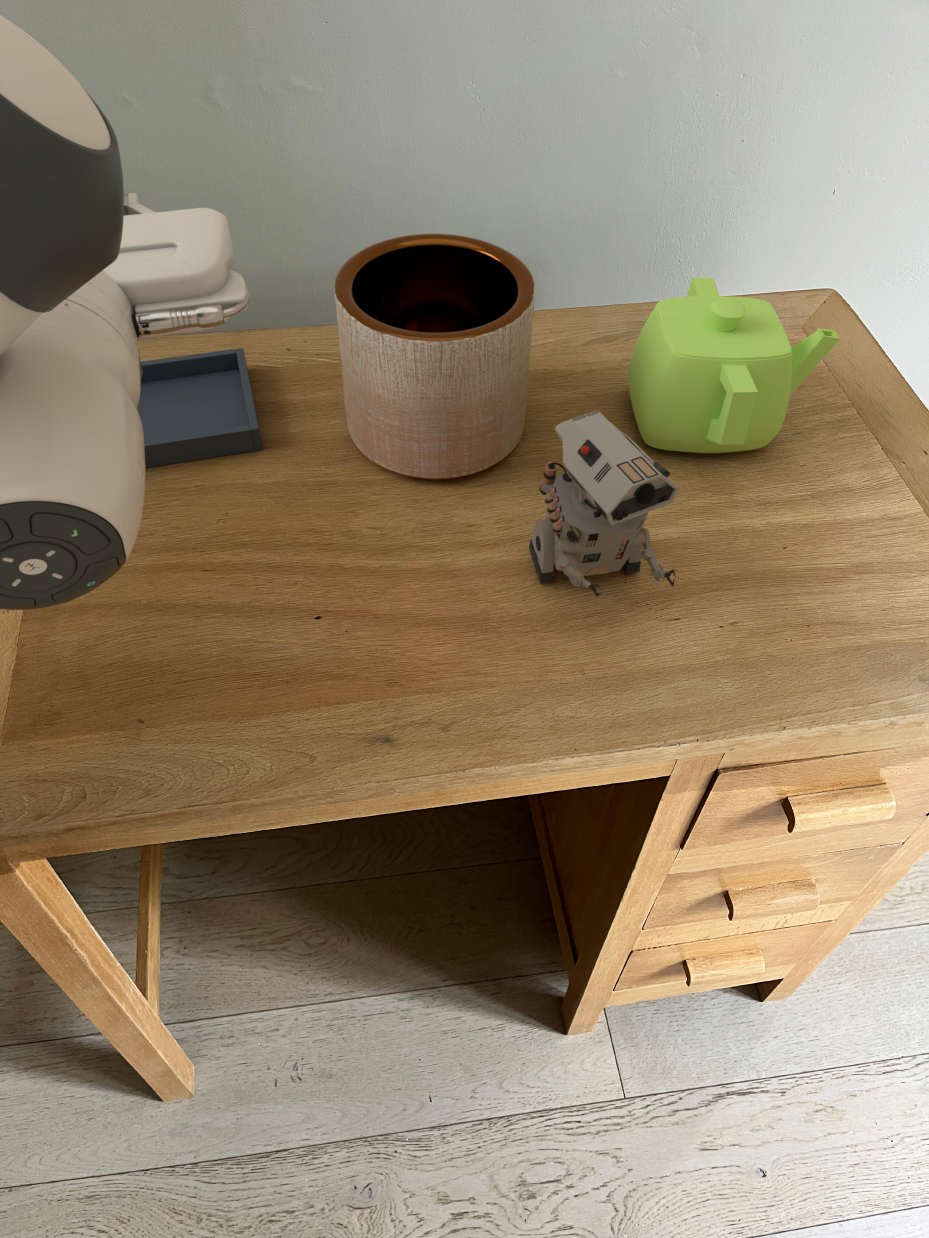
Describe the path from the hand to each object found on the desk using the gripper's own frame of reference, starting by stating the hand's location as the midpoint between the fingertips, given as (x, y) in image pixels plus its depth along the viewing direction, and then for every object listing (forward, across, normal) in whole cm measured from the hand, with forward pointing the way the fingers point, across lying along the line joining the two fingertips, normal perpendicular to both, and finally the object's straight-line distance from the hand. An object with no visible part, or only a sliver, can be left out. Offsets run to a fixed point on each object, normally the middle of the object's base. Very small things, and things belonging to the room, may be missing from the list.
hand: (53, 213), depth 52 cm
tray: (+19, 0, +30) cm, 35 cm away
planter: (+11, -26, +30) cm, 41 cm away
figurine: (-12, -34, +30) cm, 47 cm away
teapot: (+5, -54, +30) cm, 62 cm away
